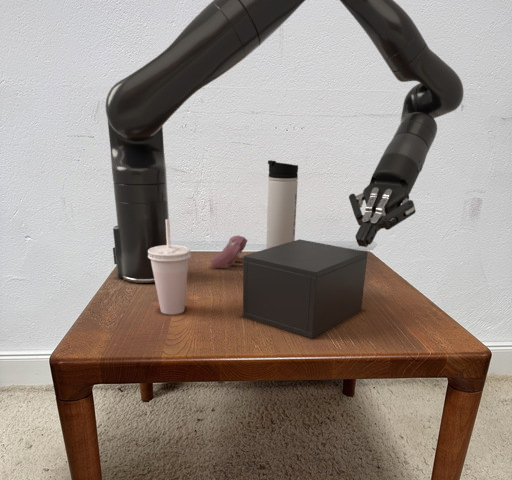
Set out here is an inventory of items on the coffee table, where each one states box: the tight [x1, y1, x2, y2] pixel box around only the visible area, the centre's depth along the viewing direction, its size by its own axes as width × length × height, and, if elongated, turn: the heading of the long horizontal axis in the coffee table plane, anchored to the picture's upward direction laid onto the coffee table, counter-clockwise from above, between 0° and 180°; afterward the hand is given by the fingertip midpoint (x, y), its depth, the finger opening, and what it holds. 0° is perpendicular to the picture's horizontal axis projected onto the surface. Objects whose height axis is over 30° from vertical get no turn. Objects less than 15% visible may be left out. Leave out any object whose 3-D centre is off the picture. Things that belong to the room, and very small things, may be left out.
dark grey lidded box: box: [242, 239, 369, 339], centre depth 75 cm, size 15×13×10 cm
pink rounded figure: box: [210, 234, 248, 269], centre depth 101 cm, size 10×5×7 cm, turn 168°
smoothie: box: [148, 218, 192, 315], centre depth 74 cm, size 6×6×14 cm
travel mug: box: [265, 159, 299, 249], centre depth 106 cm, size 6×7×20 cm
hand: (361, 243), depth 86 cm, fingers closed
